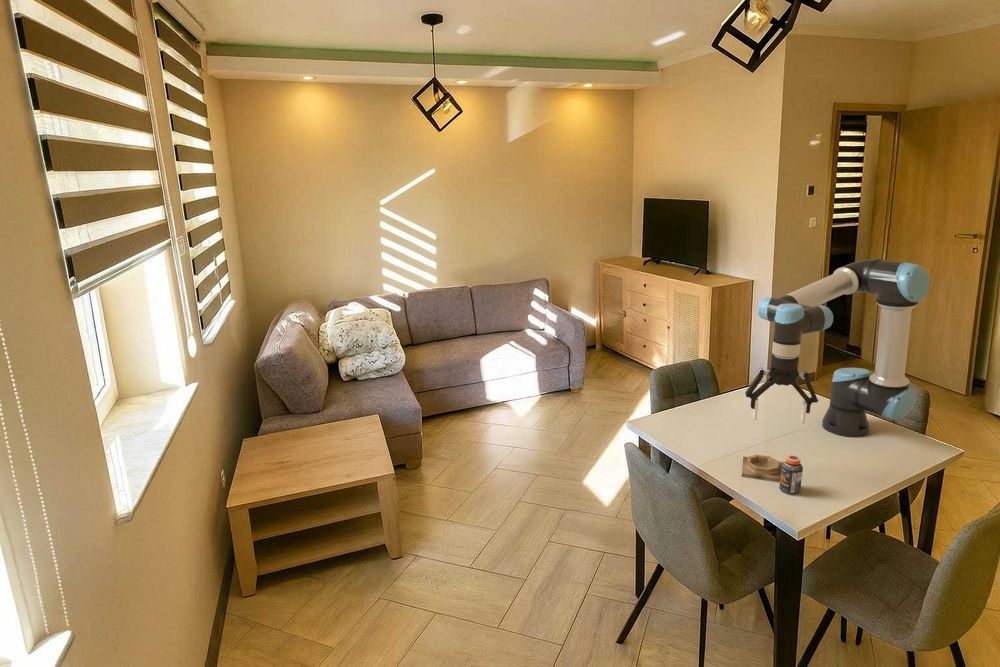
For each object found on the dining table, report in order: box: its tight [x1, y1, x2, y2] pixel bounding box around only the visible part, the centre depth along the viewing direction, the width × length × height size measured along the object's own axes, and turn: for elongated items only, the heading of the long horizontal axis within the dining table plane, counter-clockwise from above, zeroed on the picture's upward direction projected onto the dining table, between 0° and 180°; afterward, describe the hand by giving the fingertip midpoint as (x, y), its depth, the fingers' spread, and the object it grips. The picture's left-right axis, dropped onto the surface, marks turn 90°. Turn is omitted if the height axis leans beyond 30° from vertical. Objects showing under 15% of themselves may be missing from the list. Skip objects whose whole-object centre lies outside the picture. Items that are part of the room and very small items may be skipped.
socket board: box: [741, 454, 783, 483], centre depth 199 cm, size 12×12×3 cm
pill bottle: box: [778, 454, 804, 496], centre depth 186 cm, size 6×6×11 cm
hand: (778, 420), depth 188 cm, fingers open, 13 cm apart
